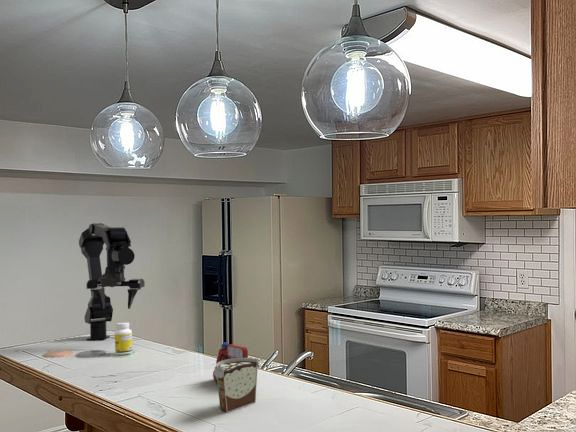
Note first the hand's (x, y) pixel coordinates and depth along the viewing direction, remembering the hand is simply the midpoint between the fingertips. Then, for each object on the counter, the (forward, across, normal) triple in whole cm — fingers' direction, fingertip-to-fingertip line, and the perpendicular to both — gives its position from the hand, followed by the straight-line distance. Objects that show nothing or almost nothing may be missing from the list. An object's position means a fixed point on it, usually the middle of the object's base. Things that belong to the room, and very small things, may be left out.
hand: (116, 308), depth 205 cm
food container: (+13, +51, -65) cm, 84 cm away
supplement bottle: (+13, +7, -12) cm, 19 cm away
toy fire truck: (+13, +48, -46) cm, 68 cm away
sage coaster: (+14, +7, -12) cm, 20 cm away
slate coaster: (+13, -4, -12) cm, 18 cm away
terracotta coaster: (+13, -15, -12) cm, 23 cm away
